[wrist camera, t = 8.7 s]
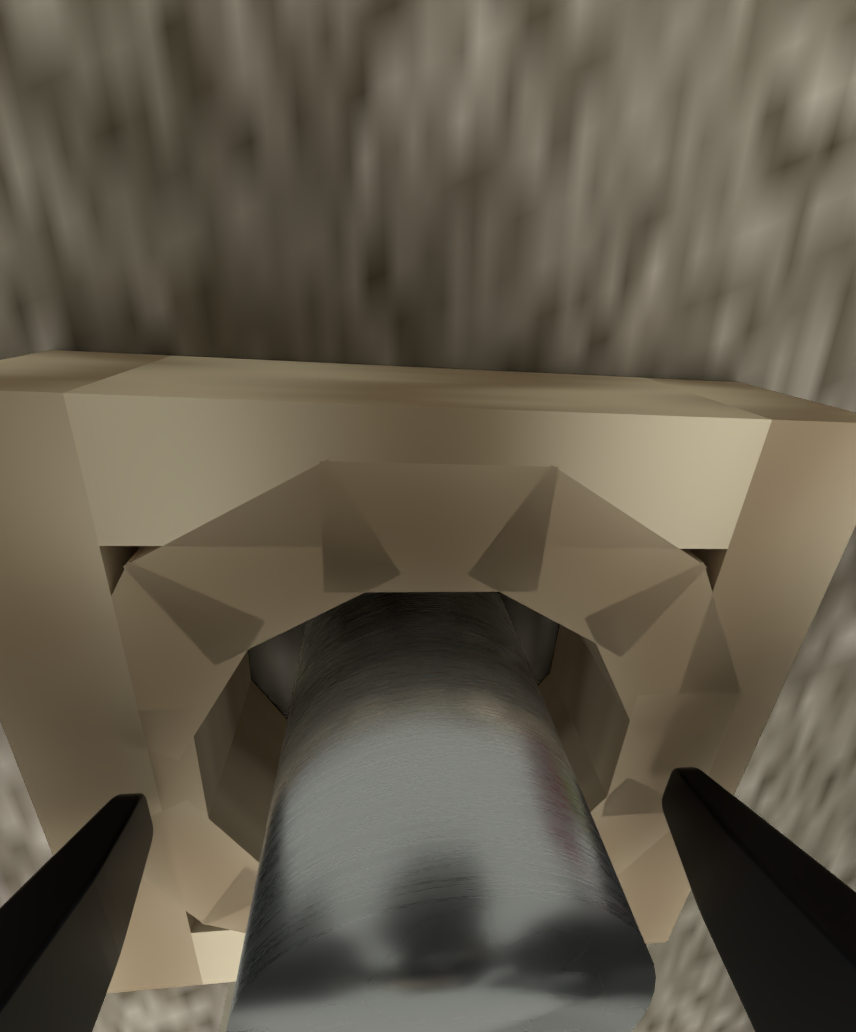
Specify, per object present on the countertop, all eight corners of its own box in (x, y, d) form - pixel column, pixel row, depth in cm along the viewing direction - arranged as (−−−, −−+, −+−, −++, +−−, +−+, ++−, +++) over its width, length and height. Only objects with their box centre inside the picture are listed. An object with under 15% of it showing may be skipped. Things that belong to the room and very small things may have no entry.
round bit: (522, 552, 11) (707, 880, 5) (497, 716, 14) (607, 1094, 7) (299, 551, 11) (198, 920, 5) (307, 722, 13) (246, 1140, 7)
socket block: (737, 382, 10) (902, 424, 7) (607, 808, 16) (667, 941, 12) (51, 349, 9) (-131, 385, 6) (166, 834, 14) (106, 993, 11)
